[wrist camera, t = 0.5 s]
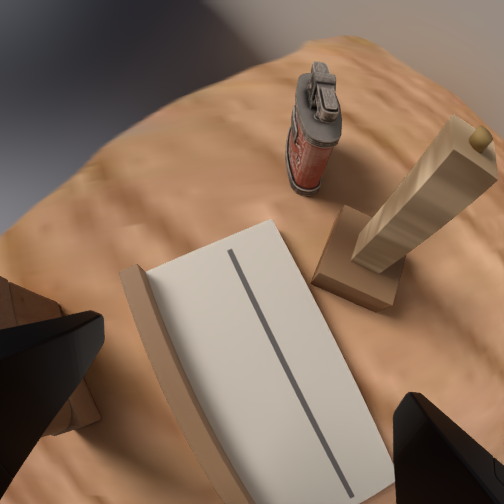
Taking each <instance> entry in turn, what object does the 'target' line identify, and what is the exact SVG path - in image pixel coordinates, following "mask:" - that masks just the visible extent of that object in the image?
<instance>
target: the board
mask: <svg viewBox="0 0 504 504" xmlns="http://www.w3.org/2000/svg"><path fill="white" fill-rule="evenodd" d="M119 276H120V279H121V282H122V285H123V288H124V292H125V295H126V298H127V301H128V304H129V307H130V310H131V312H132V315H133V318H134V321H135V324H136V327H137V329H138V332H139V335H140V337H141V340H142V343H143V345H144V348H145V350H146V353H147V355H148V358H149V360H150V363H151V365H152V367H153V370H154V372H155V374H156V377H157V379H158V381H159V384H160V386H161V388H162V390H163V393H164V395H165V397H166V399H167V401H168V403H169V406H170V408H171V410H172V412H173V414H174V416H175V418H176V420H177V422H178V424H179V426H180V428H181V430H182V432H183V434H184V436H185V438H186V440H187V442H188V443H189V445H190V447H191V449H192V451H193V453H194V454H195V456H196V458H197V460H198V462H199V463H200V465H201V467H202V469H203V470H204V472H205V474H206V475H207V477H208V479H209V480H210V482H211V484H212V485H213V487H214V489H215V490H216V492H217V493H218V495H219V496H220V498H221V500H222V501H223V503H224V504H360V503H361V502H363V501H365V500H367V499H368V498H370V497H372V496H373V495H375V494H376V493H378V492H380V491H381V490H383V489H384V488H386V487H388V486H389V485H391V484H392V483H394V482H395V475H394V465H393V463H392V460H391V458H390V456H389V454H388V451H387V449H386V447H385V445H384V442H383V440H382V438H381V436H380V434H379V431H378V429H377V427H376V425H375V423H374V421H373V418H372V416H371V414H370V412H369V410H368V408H367V405H366V403H365V401H364V399H363V397H362V395H361V393H360V391H359V389H358V386H357V384H356V382H355V380H354V378H353V376H352V374H351V372H350V370H349V368H348V366H347V364H346V362H345V360H344V358H343V355H342V353H341V351H340V349H339V347H338V345H337V343H336V341H335V339H334V337H333V335H332V333H331V331H330V329H329V327H328V325H327V323H326V321H325V319H324V317H323V315H322V313H321V311H320V309H319V308H318V306H317V304H316V302H315V300H314V298H313V296H312V294H311V292H310V290H309V288H308V286H307V284H306V282H305V280H304V278H303V277H302V275H301V273H300V271H299V269H298V267H297V265H296V263H295V261H294V259H293V257H292V256H291V254H290V252H289V250H288V248H287V246H286V244H285V242H284V241H283V239H282V237H281V235H280V233H279V231H278V229H277V228H276V226H275V224H274V222H273V220H272V219H269V220H267V221H264V222H262V223H260V224H257V225H255V226H252V227H250V228H247V229H245V230H243V231H240V232H238V233H235V234H233V235H231V236H228V237H226V238H223V239H221V240H219V241H216V242H214V243H212V244H209V245H207V246H204V247H202V248H200V249H197V250H195V251H193V252H190V253H188V254H186V255H183V256H181V257H179V258H176V259H174V260H172V261H169V262H167V263H165V264H162V265H160V266H158V267H156V268H153V269H151V270H149V271H146V272H145V271H144V270H143V269H142V268H141V267H140V266H139V265H138V264H135V265H133V266H131V267H129V268H126V269H124V270H122V271H120V272H119Z"/></svg>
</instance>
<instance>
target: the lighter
mask: <svg viewBox="0 0 504 504" xmlns="http://www.w3.org/2000/svg"><path fill="white" fill-rule="evenodd" d="M335 90H336V77H335V75H334V74H330V72H329V69H328V66H327V64H326V63H323V62H313V64H312V69H311V73H306V74H302V75H300V76H299V78H298V83H297V89H296V94H295V105H294V106H293V111H292V116H291V127H290V128H289V131H288V136H287V141H286V149H285V161H286V169H287V174H288V178H289V181H290V185H291V188H292V189H293V191H295V192H296V193H297V194H299V195H303V196H311V195H314V194H315V193H317V192H318V190H319V187H320V185H321V181H322V174H323V171H324V169H325V167H326V164H327V162H328V159H329V156H330V154H331V151H332V149H333V147H334V146H335V145H337V144H338V141H339V139H340V136H341V129H342V117H341V110H340V105H339V102H338V99H337V96H336V93H335Z"/></svg>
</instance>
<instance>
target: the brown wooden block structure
mask: <svg viewBox="0 0 504 504" xmlns="http://www.w3.org/2000/svg"><path fill="white" fill-rule="evenodd" d="M57 317H62V315H61V312H60V309H59V305H58V303H57V302H56V301H53V300H51V299H48V298H46V297H44V296H41V295H39V294H36V293H34V292H32V291H29V290H27V289H25V288H23V287H20V286H18V285H16V284H14V283H11V282H8V280H7V279H5V278H3V277H1V276H0V329H5V328H10V327H14V326H19V325H24V324H29V323H34V322H39V321H43V320H48V319H53V318H57ZM100 419H101V416H100V414H99V412H98V410H97V408H96V405H95V403H94V401H93V399H92V397H91V394H90V392H89V390H88V388H87V385H86V383H85V380H84V378H83V379H82V381H81V382H80V384H79V385H78V386H77V388H76V389H75V391H74V392H73V393H72V395H71V396H70V397H69V399H68V400H67V401H66V403H65V404H64V405H63V407H62V408H61V410H60V411H59V412H58V414H57V415H56V417H55V418H54V419H53V421H52V422H51V424H50V425H49V426H48V428H47V429H46V431H45V432H44V434H43V435H42V436H41V437H44V436H47V435H53V436H56V435H59V434H62V433H66V432H69V431H72V430H75V429H78V428H81V427H84V426H86V425H89V424H92V423H95V422H98V421H100Z"/></svg>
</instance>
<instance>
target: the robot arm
mask: <svg viewBox="0 0 504 504" xmlns="http://www.w3.org/2000/svg"><path fill="white" fill-rule="evenodd" d="M104 339H105V335H104V318H103V316H102V315H101V314H99V313H97V312H94V311H92V310H89V311H85V312H80V313H76V314H71V315H67V316H62V317H57V318H53V319H48V320H43V321H39V322H34V323H29V324H24V325H19V326H14V327H10V328H5V329H0V500H1V498H2V496H3V495H4V493H5V492H6V490H7V488H8V487H9V485H10V484H11V482H12V480H13V478H14V477H15V475H16V474H17V472H18V471H19V469H20V468H21V466H22V465H23V463H24V461H25V460H26V458H27V457H28V455H29V454H30V453H31V451H32V450H33V448H34V447H35V445H36V444H37V442H38V441H39V439H40V438H41V436H42V435H43V434H44V432H45V431H46V429H47V428H48V426H49V425H50V424H51V422H52V421H53V419H54V418H55V417H56V415H57V414H58V412H59V411H60V410H61V408H62V407H63V405H64V404H65V403H66V401H67V400H68V399H69V397H70V396H71V395H72V393H73V392H74V391H75V389H76V388H77V386H78V385H79V384H80V382H81V381H82V379H83V377H84V376H85V374H86V372H87V371H88V369H89V367H90V366H91V364H92V362H93V361H94V359H95V357H96V355H97V354H98V352H99V351H100V349H101V347H102V345H103V343H104ZM393 462H394V475H395V488H396V504H504V465H502V464H501V463H500V462H499V461H498V460H497V459H496V458H493V456H492V455H491V454H490V453H489V452H488V451H486V450H485V449H484V448H483V447H482V446H481V445H480V444H478V443H477V442H476V441H475V440H474V439H473V438H472V437H470V436H469V435H468V434H467V433H466V432H465V431H464V430H462V429H461V428H460V427H459V426H458V425H457V424H456V423H454V422H453V421H452V420H451V419H450V418H449V417H448V416H446V415H445V414H444V413H443V412H442V411H441V410H440V409H438V408H437V407H436V406H435V405H434V404H433V403H432V402H430V401H429V400H428V399H427V398H426V397H425V396H423V395H422V394H421V393H417V392H408V393H407V394H406V395H405V396H404V398H403V399H402V401H401V403H400V404H399V406H398V407H397V409H396V410H395V412H394V415H393Z"/></svg>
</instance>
